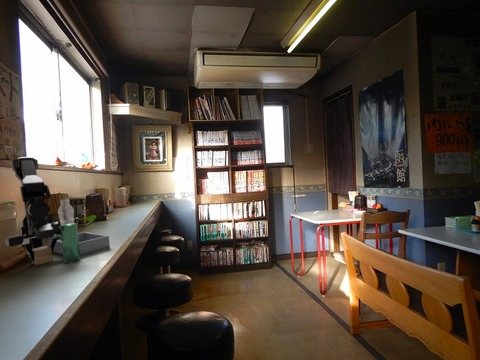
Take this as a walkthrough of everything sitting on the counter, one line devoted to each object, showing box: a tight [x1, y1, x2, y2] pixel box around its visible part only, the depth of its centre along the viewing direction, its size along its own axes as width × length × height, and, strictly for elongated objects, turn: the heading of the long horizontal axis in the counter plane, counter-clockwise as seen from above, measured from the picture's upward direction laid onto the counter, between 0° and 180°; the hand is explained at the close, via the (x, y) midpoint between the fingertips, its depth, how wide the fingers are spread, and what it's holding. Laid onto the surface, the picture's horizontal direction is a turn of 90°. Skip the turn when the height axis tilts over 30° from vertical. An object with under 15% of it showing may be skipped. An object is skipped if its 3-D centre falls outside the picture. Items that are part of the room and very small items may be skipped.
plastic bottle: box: [57, 198, 75, 226], centre depth 137 cm, size 6×7×20 cm
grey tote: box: [53, 231, 111, 257], centre depth 119 cm, size 22×14×5 cm, turn 50°
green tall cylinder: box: [59, 222, 81, 264], centre depth 102 cm, size 5×5×13 cm
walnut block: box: [31, 245, 54, 266], centre depth 105 cm, size 5×5×5 cm
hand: (42, 259), depth 105 cm, fingers closed on walnut block, 5 cm apart
